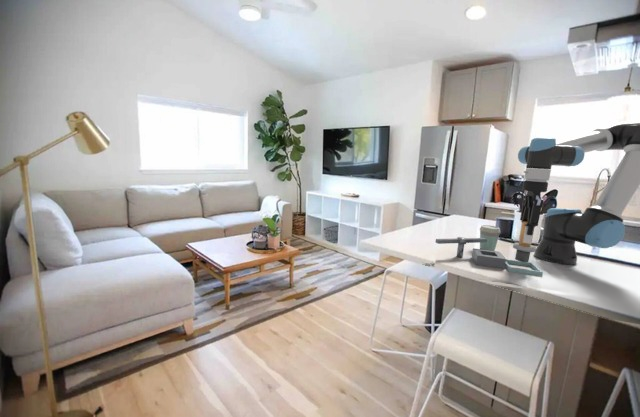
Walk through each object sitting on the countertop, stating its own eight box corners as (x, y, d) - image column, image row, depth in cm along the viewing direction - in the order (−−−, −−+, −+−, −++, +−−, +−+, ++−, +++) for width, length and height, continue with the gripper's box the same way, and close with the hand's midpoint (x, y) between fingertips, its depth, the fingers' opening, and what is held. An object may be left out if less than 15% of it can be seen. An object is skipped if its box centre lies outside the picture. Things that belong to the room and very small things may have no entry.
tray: (531, 268, 121) (532, 262, 120) (541, 278, 111) (543, 272, 110) (500, 264, 124) (501, 258, 124) (508, 273, 114) (509, 267, 113)
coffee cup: (500, 255, 136) (504, 229, 134) (479, 253, 137) (483, 228, 135) (493, 250, 144) (497, 225, 142) (474, 248, 146) (477, 224, 144)
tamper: (529, 258, 119) (536, 222, 116) (535, 264, 112) (543, 225, 109) (508, 255, 121) (515, 219, 118) (513, 261, 114) (520, 223, 112)
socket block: (497, 262, 126) (499, 251, 125) (504, 271, 116) (506, 259, 115) (452, 256, 131) (453, 245, 130) (455, 264, 121) (456, 252, 120)
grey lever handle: (479, 255, 133) (482, 236, 131) (485, 258, 129) (488, 238, 128) (432, 258, 127) (434, 237, 125) (437, 260, 123) (440, 240, 122)
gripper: (517, 178, 120) (507, 235, 124) (532, 181, 104) (520, 245, 108) (539, 180, 118) (528, 237, 122) (557, 183, 102) (545, 248, 106)
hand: (525, 241), depth 115 cm, fingers closed on tamper, 4 cm apart
